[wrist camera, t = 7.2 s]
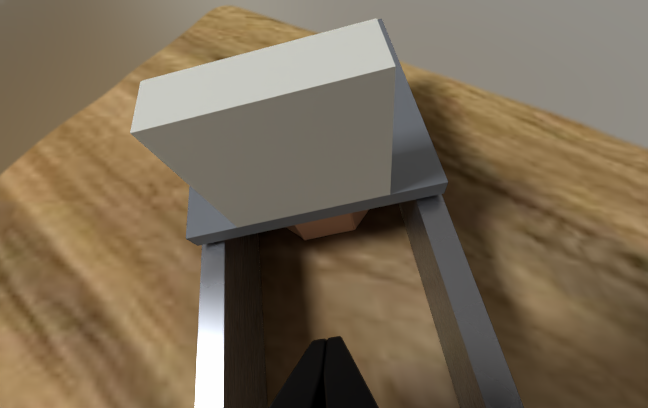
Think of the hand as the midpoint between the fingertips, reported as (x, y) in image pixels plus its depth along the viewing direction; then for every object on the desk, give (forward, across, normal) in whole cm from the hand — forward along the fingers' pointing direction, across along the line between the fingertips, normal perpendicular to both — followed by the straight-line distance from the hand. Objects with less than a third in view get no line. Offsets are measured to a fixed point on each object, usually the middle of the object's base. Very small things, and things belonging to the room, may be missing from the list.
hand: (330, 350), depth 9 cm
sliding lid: (+11, 0, -6) cm, 12 cm away
